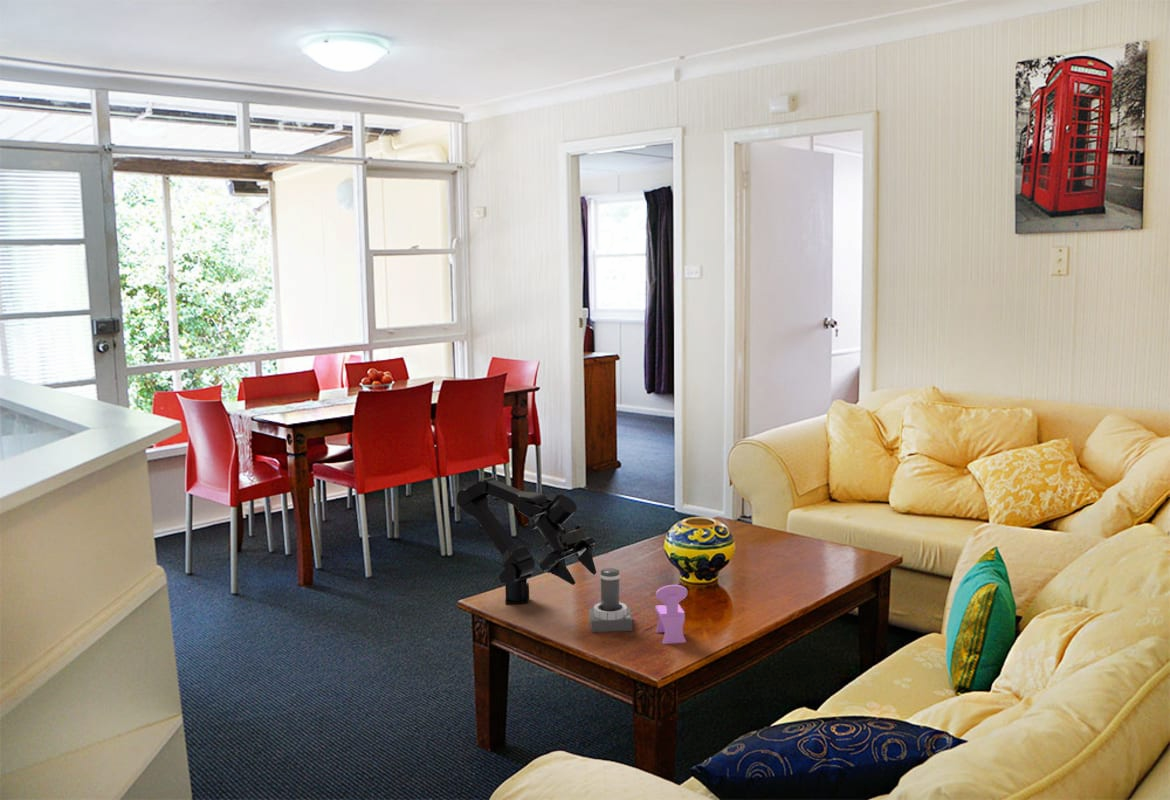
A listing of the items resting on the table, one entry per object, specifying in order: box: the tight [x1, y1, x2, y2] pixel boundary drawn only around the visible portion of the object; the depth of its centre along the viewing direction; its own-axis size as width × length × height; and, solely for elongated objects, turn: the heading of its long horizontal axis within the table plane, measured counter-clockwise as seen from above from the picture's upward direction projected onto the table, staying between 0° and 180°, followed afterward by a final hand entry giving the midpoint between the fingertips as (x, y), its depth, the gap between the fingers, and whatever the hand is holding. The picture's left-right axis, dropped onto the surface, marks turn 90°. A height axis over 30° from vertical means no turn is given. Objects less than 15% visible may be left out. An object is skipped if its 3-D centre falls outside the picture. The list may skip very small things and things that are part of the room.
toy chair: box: [654, 584, 688, 645], centre depth 249 cm, size 8×9×15 cm
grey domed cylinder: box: [599, 567, 621, 611], centre depth 258 cm, size 5×5×12 cm
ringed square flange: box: [588, 601, 634, 633], centre depth 258 cm, size 11×10×5 cm
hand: (584, 578), depth 263 cm, fingers open, 9 cm apart
